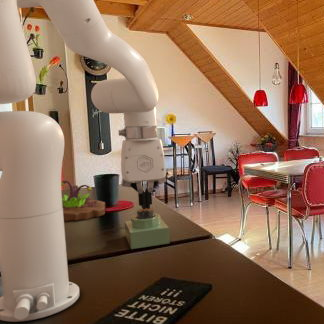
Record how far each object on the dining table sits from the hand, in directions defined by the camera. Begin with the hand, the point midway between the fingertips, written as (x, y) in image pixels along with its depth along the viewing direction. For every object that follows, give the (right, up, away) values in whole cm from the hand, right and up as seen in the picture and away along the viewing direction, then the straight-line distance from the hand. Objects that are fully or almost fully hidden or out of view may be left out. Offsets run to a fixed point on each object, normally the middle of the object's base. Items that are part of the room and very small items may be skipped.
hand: (145, 207), depth 96 cm
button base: (0, -8, +1) cm, 8 cm away
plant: (-31, -6, +29) cm, 43 cm away
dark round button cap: (0, -3, 0) cm, 3 cm away
